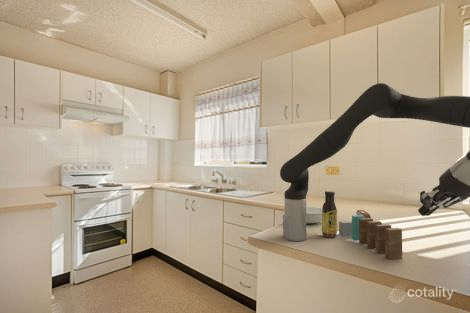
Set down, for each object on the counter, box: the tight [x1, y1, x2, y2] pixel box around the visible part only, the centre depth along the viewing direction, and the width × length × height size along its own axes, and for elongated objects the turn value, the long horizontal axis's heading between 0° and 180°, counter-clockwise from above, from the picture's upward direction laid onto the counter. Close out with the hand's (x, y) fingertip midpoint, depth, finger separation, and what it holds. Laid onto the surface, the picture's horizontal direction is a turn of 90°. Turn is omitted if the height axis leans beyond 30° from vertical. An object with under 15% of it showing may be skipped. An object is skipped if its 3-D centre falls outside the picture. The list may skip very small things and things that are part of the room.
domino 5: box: [384, 227, 403, 260], centre depth 79 cm, size 2×5×10 cm, turn 97°
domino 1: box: [351, 215, 365, 241], centre depth 97 cm, size 2×5×10 cm, turn 97°
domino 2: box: [358, 217, 374, 245], centre depth 92 cm, size 2×5×10 cm, turn 97°
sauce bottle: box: [321, 190, 338, 238], centre depth 102 cm, size 6×6×20 cm
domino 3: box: [366, 220, 382, 250], centre depth 88 cm, size 2×5×10 cm, turn 97°
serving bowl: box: [306, 205, 322, 225], centre depth 126 cm, size 21×21×7 cm
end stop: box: [338, 220, 352, 237], centre depth 103 cm, size 3×9×6 cm, turn 97°
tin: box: [355, 209, 372, 218], centre depth 113 cm, size 15×3×8 cm, turn 168°
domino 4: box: [375, 223, 392, 255], centre depth 83 cm, size 2×5×10 cm, turn 97°
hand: (422, 213), depth 68 cm, fingers closed
